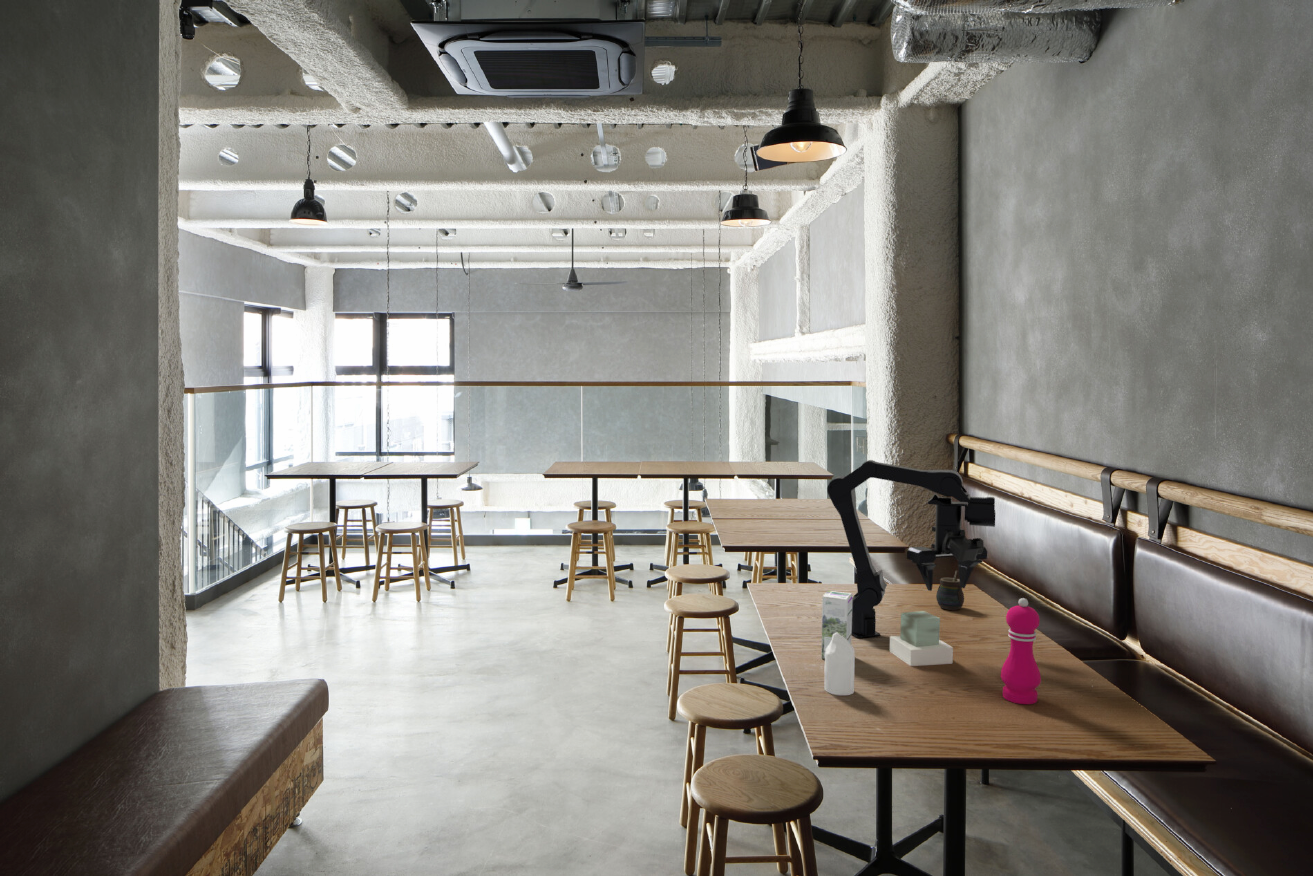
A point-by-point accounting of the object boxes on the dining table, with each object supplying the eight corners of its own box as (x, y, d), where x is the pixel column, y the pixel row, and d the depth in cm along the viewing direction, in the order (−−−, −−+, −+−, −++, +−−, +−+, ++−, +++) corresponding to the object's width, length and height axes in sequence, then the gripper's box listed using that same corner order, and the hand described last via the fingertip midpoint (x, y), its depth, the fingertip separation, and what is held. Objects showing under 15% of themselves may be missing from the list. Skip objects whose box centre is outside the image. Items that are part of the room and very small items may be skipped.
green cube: (900, 638, 190) (901, 612, 189) (922, 636, 192) (923, 611, 191) (915, 646, 184) (916, 620, 184) (939, 644, 186) (939, 618, 186)
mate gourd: (933, 609, 228) (934, 573, 228) (939, 603, 235) (940, 568, 234) (960, 613, 224) (961, 576, 224) (966, 607, 231) (967, 571, 230)
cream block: (889, 653, 192) (890, 636, 192) (929, 651, 194) (930, 634, 194) (910, 667, 182) (910, 650, 182) (952, 665, 184) (953, 647, 184)
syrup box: (851, 655, 189) (853, 592, 188) (846, 663, 184) (847, 598, 183) (826, 651, 192) (828, 589, 191) (820, 659, 186) (821, 595, 185)
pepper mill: (1037, 708, 159) (1041, 605, 157) (996, 700, 163) (1000, 599, 161) (1042, 696, 165) (1046, 597, 164) (1003, 689, 169) (1006, 591, 167)
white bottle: (859, 631, 167) (849, 638, 162) (858, 689, 168) (847, 698, 163) (831, 626, 170) (820, 633, 166) (830, 683, 171) (819, 691, 167)
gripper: (935, 531, 186) (933, 600, 187) (1004, 527, 192) (1002, 594, 193) (906, 523, 197) (904, 588, 198) (972, 520, 202) (970, 583, 203)
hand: (946, 589), depth 198 cm, fingers open, 9 cm apart
